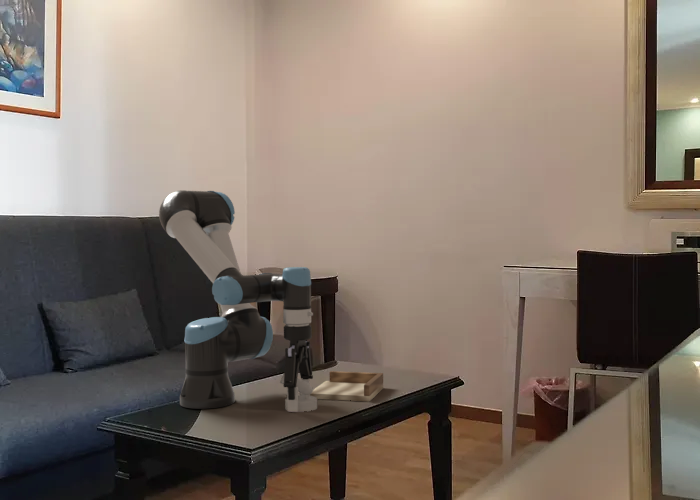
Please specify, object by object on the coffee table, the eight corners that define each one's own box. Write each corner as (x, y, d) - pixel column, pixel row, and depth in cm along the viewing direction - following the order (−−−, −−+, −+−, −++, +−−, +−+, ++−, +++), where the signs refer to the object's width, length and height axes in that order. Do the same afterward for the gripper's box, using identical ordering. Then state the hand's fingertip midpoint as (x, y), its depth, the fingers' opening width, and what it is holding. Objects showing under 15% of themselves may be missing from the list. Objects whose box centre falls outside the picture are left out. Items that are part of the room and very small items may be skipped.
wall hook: (284, 369, 209) (319, 370, 207) (285, 403, 209) (320, 404, 207) (275, 375, 201) (312, 376, 199) (276, 411, 201) (312, 412, 199)
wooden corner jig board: (308, 398, 215) (307, 382, 215) (326, 385, 232) (326, 370, 232) (369, 401, 210) (369, 385, 210) (383, 387, 228) (383, 373, 227)
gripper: (297, 330, 192) (298, 417, 192) (322, 319, 213) (324, 398, 214) (269, 329, 194) (271, 416, 194) (297, 319, 215) (299, 397, 216)
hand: (299, 407), depth 204 cm, fingers open, 9 cm apart
